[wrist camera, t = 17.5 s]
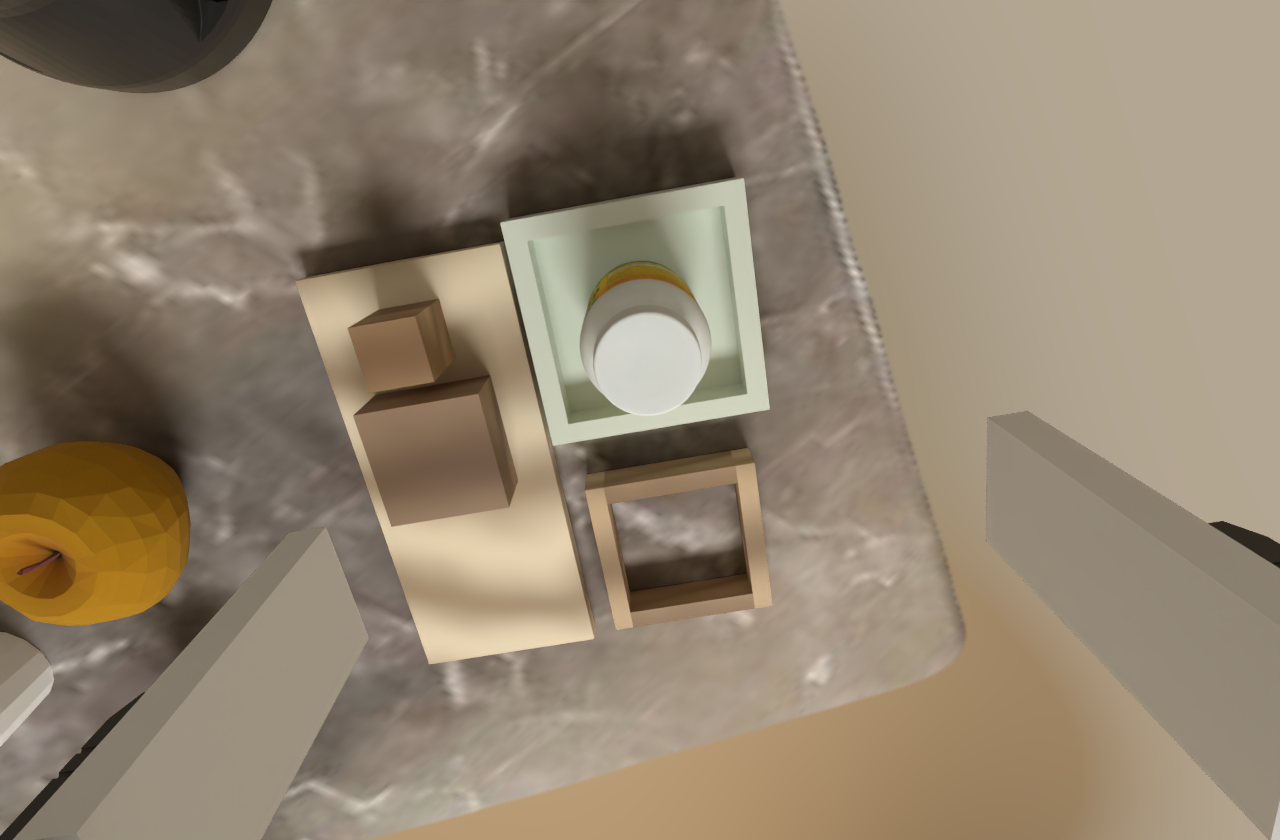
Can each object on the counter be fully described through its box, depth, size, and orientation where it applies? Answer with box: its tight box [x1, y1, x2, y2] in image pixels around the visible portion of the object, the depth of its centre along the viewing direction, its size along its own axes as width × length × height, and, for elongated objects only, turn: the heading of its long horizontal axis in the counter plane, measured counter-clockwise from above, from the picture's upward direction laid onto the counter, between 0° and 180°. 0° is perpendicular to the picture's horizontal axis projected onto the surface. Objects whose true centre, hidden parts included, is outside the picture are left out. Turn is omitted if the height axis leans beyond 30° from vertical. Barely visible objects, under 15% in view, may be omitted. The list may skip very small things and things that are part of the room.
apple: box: [0, 441, 190, 626], centre depth 33 cm, size 9×9×9 cm
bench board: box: [295, 241, 595, 664], centre depth 35 cm, size 23×10×5 cm, turn 10°
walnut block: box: [353, 375, 518, 527], centre depth 34 cm, size 6×6×3 cm
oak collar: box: [585, 448, 772, 630], centre depth 38 cm, size 9×9×2 cm
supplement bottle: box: [580, 260, 711, 416], centre depth 29 cm, size 5×5×10 cm
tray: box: [500, 177, 770, 446], centre depth 33 cm, size 11×11×2 cm
